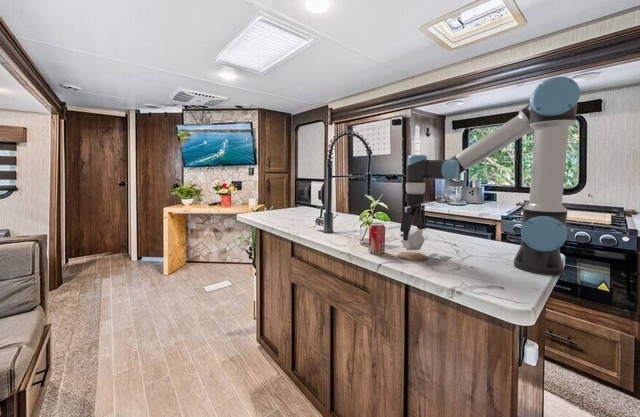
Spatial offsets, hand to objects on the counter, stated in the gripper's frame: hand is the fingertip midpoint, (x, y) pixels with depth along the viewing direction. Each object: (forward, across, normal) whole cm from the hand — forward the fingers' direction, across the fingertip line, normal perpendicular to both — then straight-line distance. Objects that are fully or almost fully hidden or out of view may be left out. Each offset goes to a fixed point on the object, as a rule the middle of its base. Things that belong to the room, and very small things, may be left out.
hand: (412, 245), depth 125 cm
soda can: (+5, +6, -14) cm, 16 cm away
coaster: (+5, 0, 0) cm, 5 cm away
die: (+2, 0, 0) cm, 2 cm away
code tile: (+5, -8, +8) cm, 12 cm away
